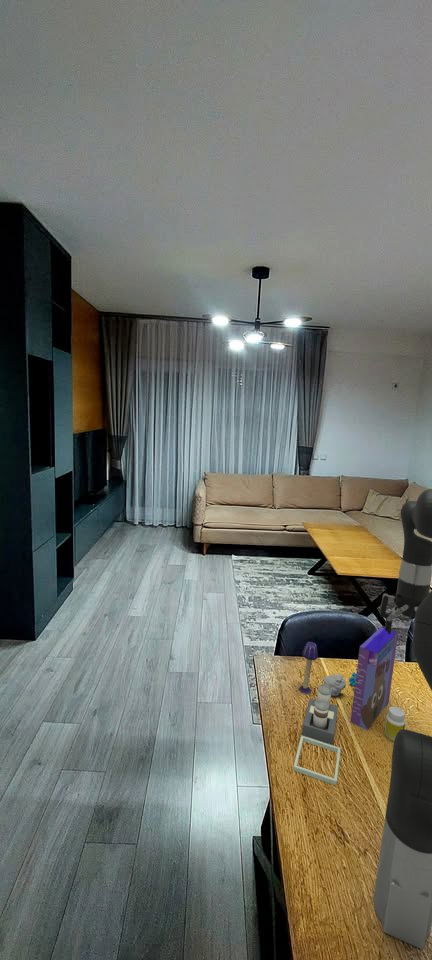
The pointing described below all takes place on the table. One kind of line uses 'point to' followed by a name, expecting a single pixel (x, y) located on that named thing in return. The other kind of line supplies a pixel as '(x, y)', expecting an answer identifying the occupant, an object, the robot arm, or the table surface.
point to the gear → (353, 679)
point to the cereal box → (373, 677)
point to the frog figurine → (335, 683)
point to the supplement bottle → (394, 723)
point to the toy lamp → (308, 665)
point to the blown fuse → (320, 714)
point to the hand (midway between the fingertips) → (406, 636)
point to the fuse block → (327, 734)
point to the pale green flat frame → (312, 773)
